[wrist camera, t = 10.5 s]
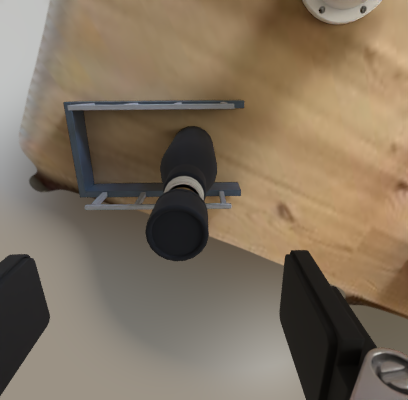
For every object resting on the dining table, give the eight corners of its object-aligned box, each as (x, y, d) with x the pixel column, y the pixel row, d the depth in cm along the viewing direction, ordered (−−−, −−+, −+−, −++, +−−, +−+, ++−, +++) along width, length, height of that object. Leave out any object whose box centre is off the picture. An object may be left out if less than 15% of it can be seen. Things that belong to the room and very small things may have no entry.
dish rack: (240, 99, 43) (251, 101, 34) (237, 187, 48) (245, 209, 39) (75, 101, 43) (41, 103, 34) (89, 189, 48) (63, 211, 39)
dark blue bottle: (216, 161, 46) (239, 267, 18) (178, 170, 47) (143, 288, 18) (207, 121, 44) (216, 172, 16) (167, 131, 44) (108, 198, 16)
